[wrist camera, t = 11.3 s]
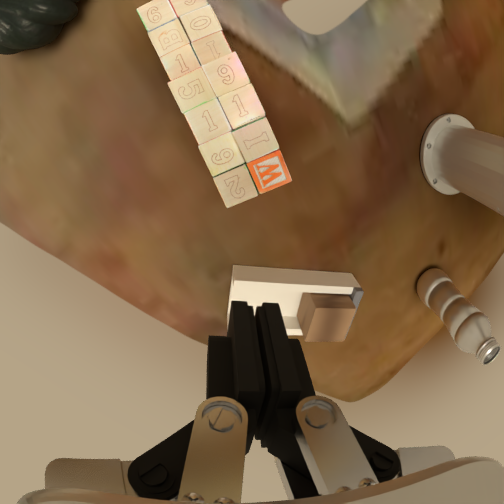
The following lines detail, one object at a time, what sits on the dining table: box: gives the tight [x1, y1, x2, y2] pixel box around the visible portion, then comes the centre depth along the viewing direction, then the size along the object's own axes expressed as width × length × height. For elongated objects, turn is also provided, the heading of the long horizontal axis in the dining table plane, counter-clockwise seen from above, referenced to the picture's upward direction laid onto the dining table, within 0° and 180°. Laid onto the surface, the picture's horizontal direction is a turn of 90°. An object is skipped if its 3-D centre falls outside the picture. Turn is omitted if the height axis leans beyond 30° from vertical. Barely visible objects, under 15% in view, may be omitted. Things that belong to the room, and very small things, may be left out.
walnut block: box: [297, 292, 356, 342], centre depth 44 cm, size 6×6×6 cm
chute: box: [227, 265, 364, 338], centre depth 44 cm, size 18×9×5 cm, turn 82°
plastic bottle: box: [417, 268, 501, 365], centre depth 39 cm, size 6×7×20 cm
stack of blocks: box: [136, 0, 292, 208], centre depth 27 cm, size 21×6×12 cm, turn 23°
